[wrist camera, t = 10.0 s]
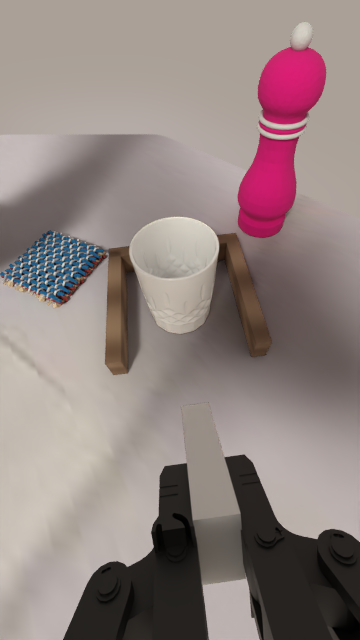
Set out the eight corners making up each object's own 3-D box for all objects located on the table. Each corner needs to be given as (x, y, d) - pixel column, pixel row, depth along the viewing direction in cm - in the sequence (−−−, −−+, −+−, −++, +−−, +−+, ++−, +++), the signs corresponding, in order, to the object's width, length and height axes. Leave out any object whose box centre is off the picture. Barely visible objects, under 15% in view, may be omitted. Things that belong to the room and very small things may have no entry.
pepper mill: (251, 201, 42) (285, 7, 25) (294, 218, 40) (366, 15, 23) (224, 227, 40) (243, 29, 23) (269, 248, 37) (329, 41, 20)
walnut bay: (265, 355, 29) (271, 341, 26) (113, 374, 29) (105, 363, 26) (233, 250, 37) (235, 232, 34) (115, 265, 37) (108, 248, 34)
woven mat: (53, 236, 42) (47, 225, 40) (110, 257, 38) (106, 246, 37) (1, 285, 37) (-8, 275, 35) (62, 313, 34) (54, 304, 32)
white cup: (165, 276, 35) (155, 208, 27) (223, 295, 33) (232, 227, 25) (135, 324, 32) (111, 264, 23) (198, 349, 30) (197, 292, 21)
